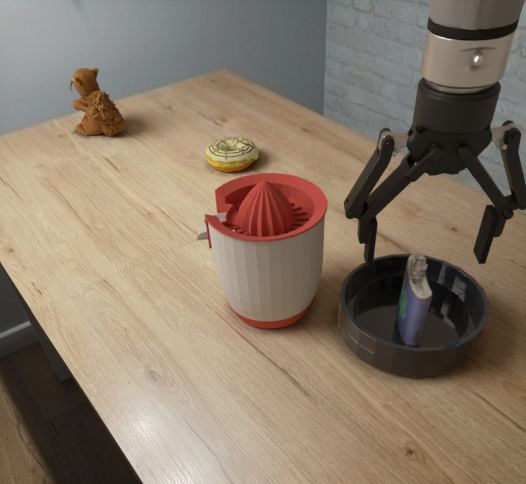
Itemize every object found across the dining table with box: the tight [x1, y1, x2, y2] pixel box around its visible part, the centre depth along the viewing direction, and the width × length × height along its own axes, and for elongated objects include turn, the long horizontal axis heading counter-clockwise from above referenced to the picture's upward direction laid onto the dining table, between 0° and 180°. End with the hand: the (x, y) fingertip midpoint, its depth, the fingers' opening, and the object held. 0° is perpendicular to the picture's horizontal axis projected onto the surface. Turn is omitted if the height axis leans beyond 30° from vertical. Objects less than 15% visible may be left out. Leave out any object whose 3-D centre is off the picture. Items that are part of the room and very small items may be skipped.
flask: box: [396, 253, 432, 347], centre depth 68 cm, size 9×3×11 cm, turn 175°
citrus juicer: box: [196, 172, 328, 329], centre depth 70 cm, size 16×17×20 cm
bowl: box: [337, 253, 490, 378], centre depth 71 cm, size 19×19×6 cm
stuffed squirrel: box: [68, 67, 127, 137], centre depth 116 cm, size 10×14×13 cm
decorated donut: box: [204, 136, 260, 173], centre depth 106 cm, size 10×11×4 cm
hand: (423, 260), depth 64 cm, fingers open, 13 cm apart
